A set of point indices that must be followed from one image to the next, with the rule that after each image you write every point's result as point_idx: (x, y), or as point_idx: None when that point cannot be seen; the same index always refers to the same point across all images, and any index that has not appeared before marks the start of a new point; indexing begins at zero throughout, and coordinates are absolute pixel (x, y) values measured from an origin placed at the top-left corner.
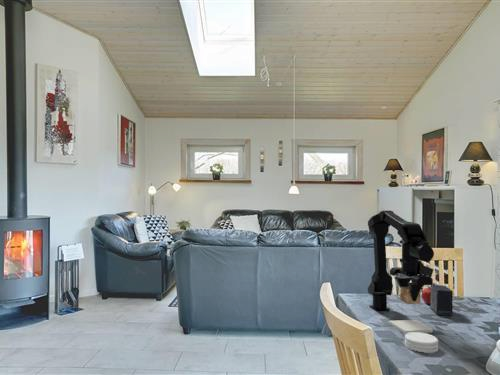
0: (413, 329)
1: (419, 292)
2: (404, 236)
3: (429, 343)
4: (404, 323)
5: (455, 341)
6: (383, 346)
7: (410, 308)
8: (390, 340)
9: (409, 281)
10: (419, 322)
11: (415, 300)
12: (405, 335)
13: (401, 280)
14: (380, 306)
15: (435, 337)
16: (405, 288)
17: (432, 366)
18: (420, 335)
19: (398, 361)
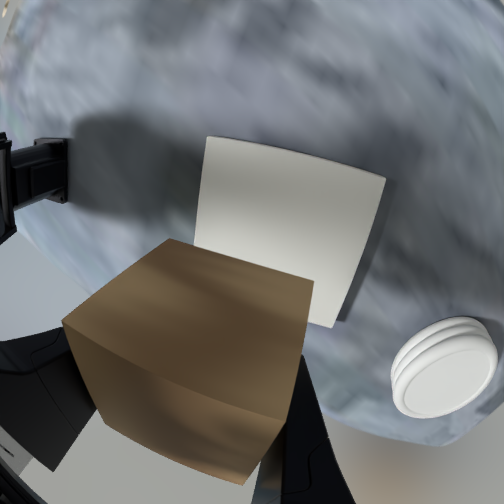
0: (336, 278)
1: (288, 390)
2: None
3: (480, 392)
4: (244, 244)
5: (497, 192)
6: (364, 427)
7: (74, 38)
8: (347, 396)
9: (10, 379)
10: (258, 147)
11: (303, 364)
12: (402, 412)
13: (49, 448)
14: (54, 190)
15: (487, 350)
16: (165, 451)
17: (490, 404)
18: (440, 378)
19: (430, 438)
